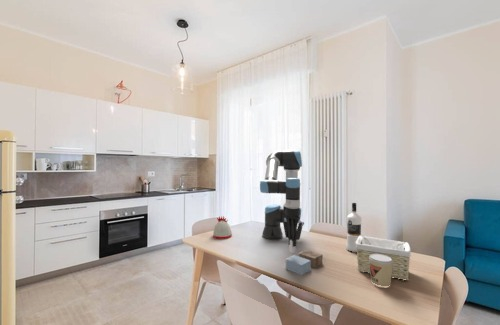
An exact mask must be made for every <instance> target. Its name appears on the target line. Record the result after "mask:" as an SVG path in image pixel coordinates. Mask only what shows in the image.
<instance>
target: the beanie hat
mask: <svg viewBox="0 0 500 325" xmlns="http://www.w3.org/2000/svg"><path fill="white" fill-rule="evenodd" d="M216 219H217V221H218V222H217V224H216V225H215V226H214V229H213V234H212V235H213V236H212V237H213V238H214V239H217V240H226V239H231V238H232V237H233V233H232V232H233V231H232V229H231V226H230V224H229V222H228V221H229V219H227V217H225V216H222V215H221V216H220V215H219V217H217V218H216ZM226 219H227V220H226Z"/></svg>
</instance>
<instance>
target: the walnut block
mask: <svg viewBox="0 0 500 325" xmlns="http://www.w3.org/2000/svg"><path fill="white" fill-rule="evenodd" d="M298 256H299V257H302V258H305V259H308V260H310V261H311V267H312V268H313V267H314V268H317V267H319V266H320V264H321V265H323V254H322V253H318V252H315V251H312V250H308V249H305V250H302V251H300V252H298ZM318 265H319V266H318ZM314 268H313V269H314Z"/></svg>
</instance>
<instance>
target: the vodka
mask: <svg viewBox="0 0 500 325" xmlns="http://www.w3.org/2000/svg"><path fill="white" fill-rule="evenodd" d="M346 223H347V224H346V225H347V228H346V230H347V231H346V232H347V233H346V236H347V238H346V244H345V249H346V250H347V251H348V250H349V252H350V251H352V252H351V253H356V252H357V249H356V241H357V239H358V237H359V236H362V217H361V215H359V213H357V203H356V202H351V212H350V213H349V214H347V217H346Z"/></svg>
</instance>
